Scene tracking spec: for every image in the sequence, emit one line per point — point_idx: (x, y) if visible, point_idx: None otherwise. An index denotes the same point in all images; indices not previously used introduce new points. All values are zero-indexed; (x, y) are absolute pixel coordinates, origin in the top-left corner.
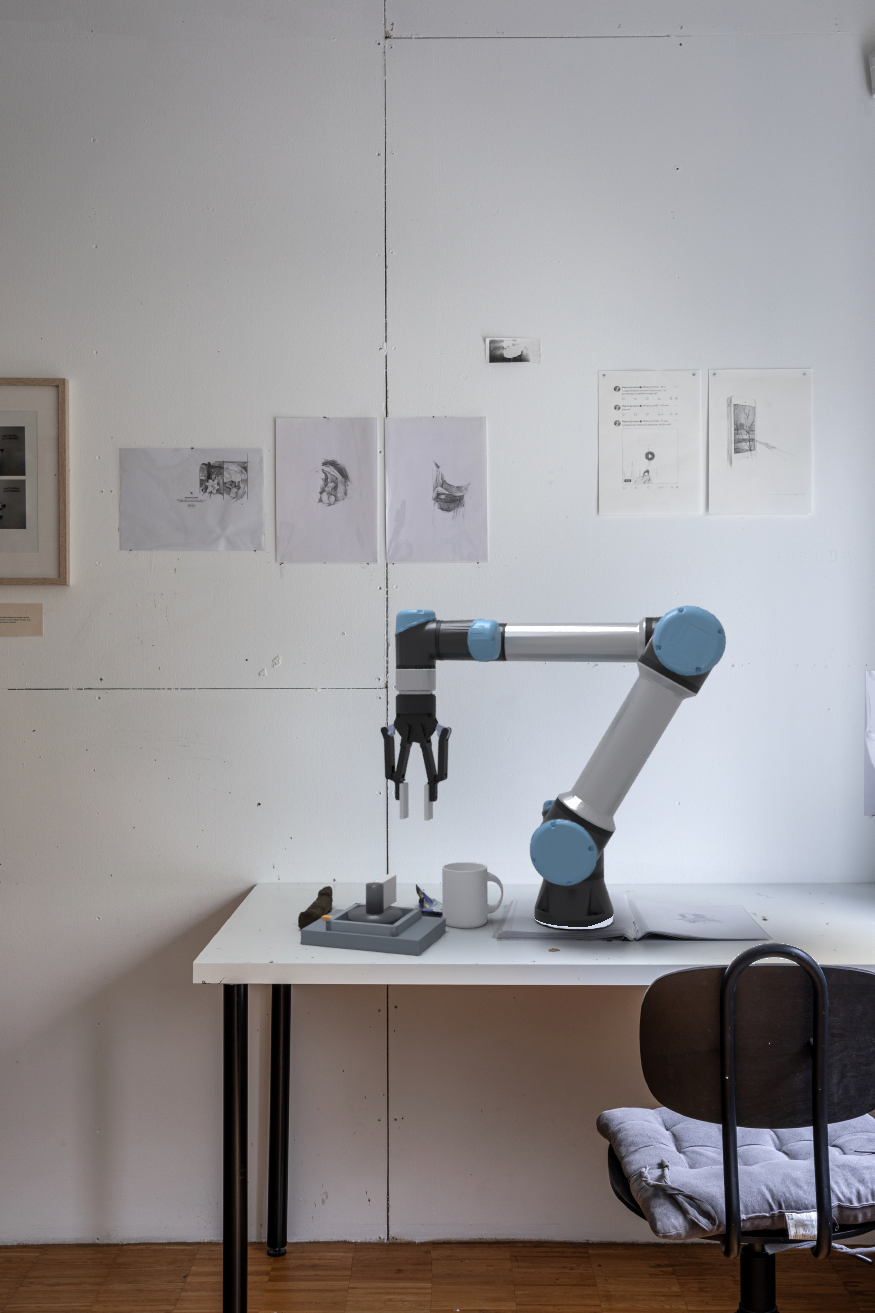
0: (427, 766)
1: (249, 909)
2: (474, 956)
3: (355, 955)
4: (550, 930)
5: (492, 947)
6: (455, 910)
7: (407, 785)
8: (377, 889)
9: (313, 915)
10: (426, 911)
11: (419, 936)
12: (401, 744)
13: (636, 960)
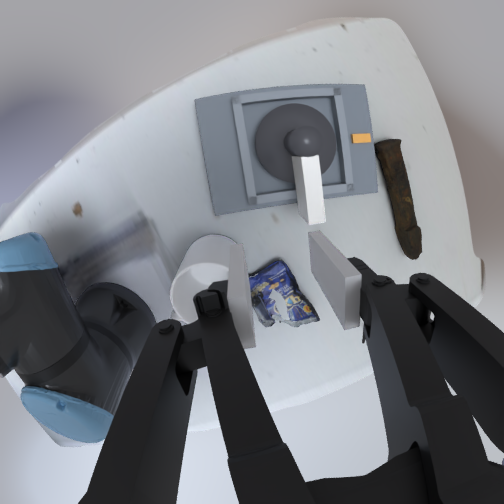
0: (230, 358)
1: (465, 201)
2: (135, 137)
3: (271, 71)
4: (114, 277)
5: (133, 181)
6: (211, 240)
7: (341, 316)
8: (294, 131)
9: (384, 142)
10: (274, 262)
11: (202, 116)
12: (456, 405)
13: (19, 220)
